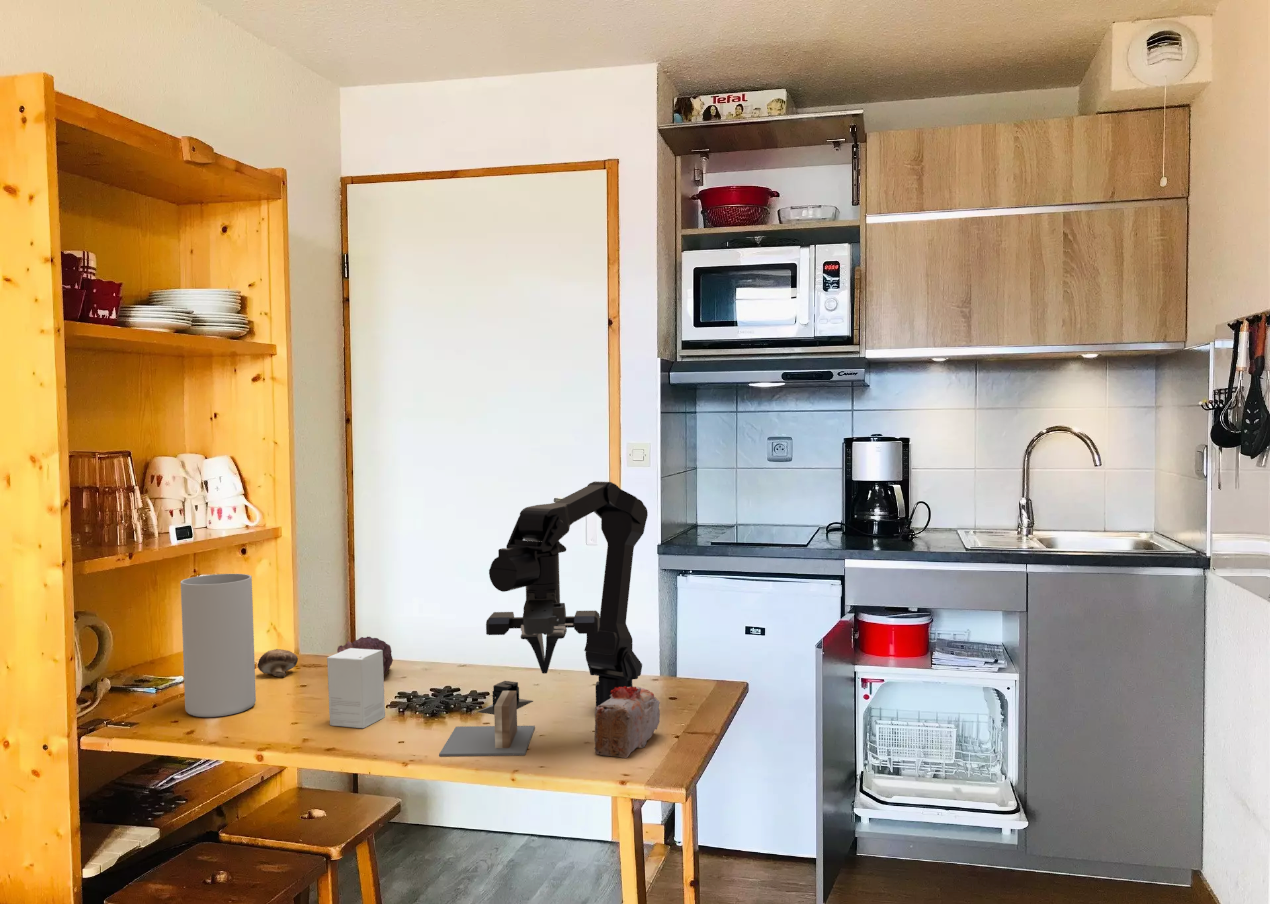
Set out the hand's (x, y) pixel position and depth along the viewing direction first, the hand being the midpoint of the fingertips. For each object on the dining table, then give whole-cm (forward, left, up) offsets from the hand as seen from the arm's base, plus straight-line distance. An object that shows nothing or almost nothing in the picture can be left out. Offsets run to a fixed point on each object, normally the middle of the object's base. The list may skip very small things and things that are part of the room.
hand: (544, 672), depth 168 cm
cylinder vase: (+65, -21, -12) cm, 69 cm away
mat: (+10, 0, -12) cm, 15 cm away
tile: (+7, 0, -11) cm, 13 cm away
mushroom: (+63, -45, -12) cm, 78 cm away
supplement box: (+36, -12, -12) cm, 39 cm away
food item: (-14, +2, -12) cm, 18 cm away
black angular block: (+10, -20, -12) cm, 26 cm away
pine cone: (+42, -40, -12) cm, 59 cm away
